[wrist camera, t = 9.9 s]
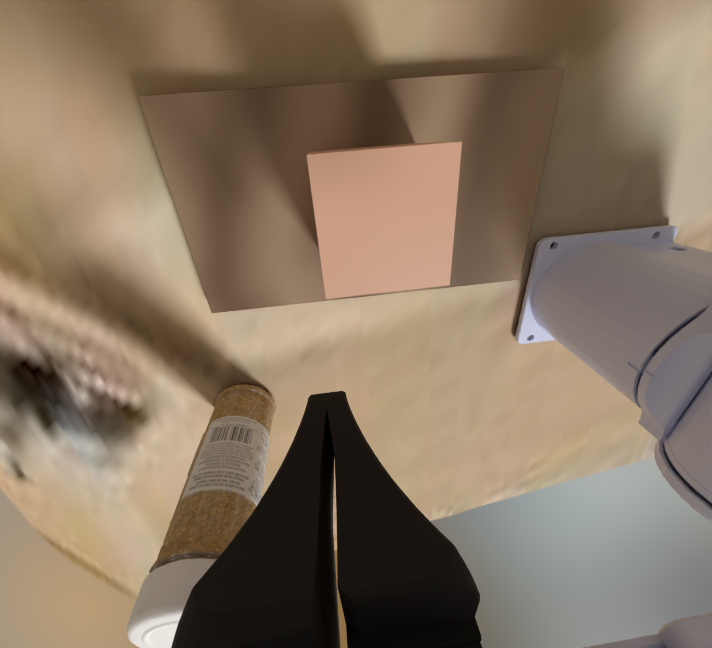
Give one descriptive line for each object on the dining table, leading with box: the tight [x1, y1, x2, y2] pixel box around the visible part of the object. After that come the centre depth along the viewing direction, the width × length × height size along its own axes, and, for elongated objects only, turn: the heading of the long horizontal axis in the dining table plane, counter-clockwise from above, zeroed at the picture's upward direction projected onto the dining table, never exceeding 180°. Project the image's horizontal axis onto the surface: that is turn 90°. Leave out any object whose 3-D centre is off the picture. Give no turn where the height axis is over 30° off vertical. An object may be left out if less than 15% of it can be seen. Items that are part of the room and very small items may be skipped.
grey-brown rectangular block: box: [138, 68, 564, 313], centre depth 15 cm, size 20×11×6 cm, turn 94°
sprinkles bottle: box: [127, 384, 276, 648], centre depth 19 cm, size 5×5×13 cm
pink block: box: [307, 142, 462, 299], centre depth 15 cm, size 5×5×6 cm
